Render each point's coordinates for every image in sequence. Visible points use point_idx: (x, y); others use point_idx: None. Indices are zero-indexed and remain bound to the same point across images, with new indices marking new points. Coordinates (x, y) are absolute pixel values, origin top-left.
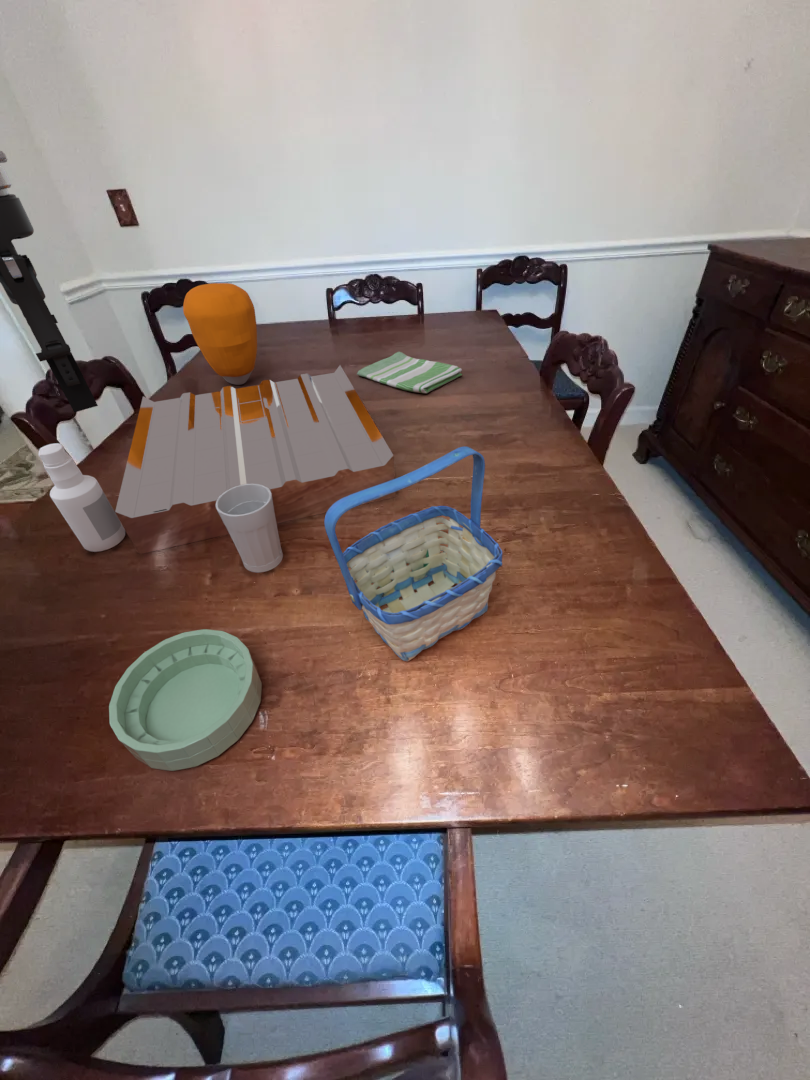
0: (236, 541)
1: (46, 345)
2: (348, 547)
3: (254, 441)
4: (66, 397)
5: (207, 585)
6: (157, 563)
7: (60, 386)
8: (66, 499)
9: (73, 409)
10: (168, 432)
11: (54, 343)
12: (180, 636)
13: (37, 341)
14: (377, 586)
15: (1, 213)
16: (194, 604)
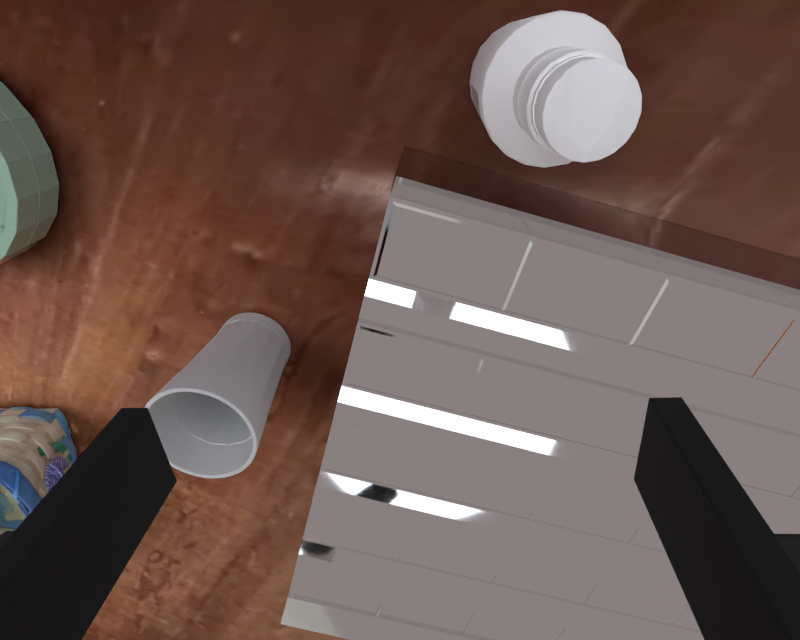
0: (203, 351)
1: (738, 592)
2: (16, 495)
3: (536, 494)
4: (79, 459)
5: (231, 244)
6: (349, 175)
7: (39, 506)
8: (489, 66)
9: (114, 419)
10: (776, 367)
11: (726, 627)
12: (7, 193)
13: (770, 605)
14: (59, 454)
15: None
16: (190, 210)
